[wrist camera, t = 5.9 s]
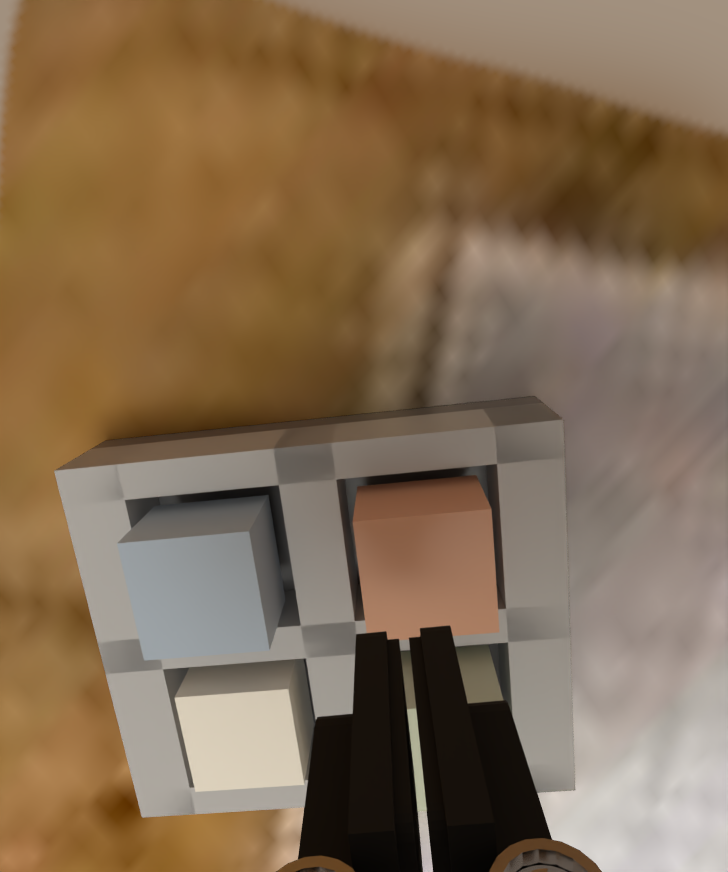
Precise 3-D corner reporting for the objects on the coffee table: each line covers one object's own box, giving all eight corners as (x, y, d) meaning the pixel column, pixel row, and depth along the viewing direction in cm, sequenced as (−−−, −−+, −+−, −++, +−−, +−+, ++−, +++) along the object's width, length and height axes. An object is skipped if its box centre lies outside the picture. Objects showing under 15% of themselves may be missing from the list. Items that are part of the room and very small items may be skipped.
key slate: (268, 494, 18) (249, 531, 15) (285, 599, 19) (269, 650, 16) (154, 505, 18) (116, 543, 15) (176, 608, 19) (144, 660, 16)
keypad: (535, 396, 19) (563, 419, 16) (548, 718, 22) (575, 790, 19) (105, 440, 20) (54, 470, 17) (174, 744, 23) (141, 817, 20)
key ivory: (300, 637, 20) (288, 689, 18) (314, 724, 21) (304, 785, 19) (200, 645, 20) (174, 697, 18) (217, 730, 21) (195, 791, 19)
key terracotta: (476, 475, 17) (491, 508, 15) (483, 582, 18) (499, 632, 16) (357, 486, 18) (352, 521, 15) (370, 592, 18) (367, 642, 16)
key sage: (488, 644, 19) (504, 702, 16) (494, 737, 20) (510, 805, 17) (377, 653, 19) (376, 711, 16) (388, 744, 20) (389, 813, 17)
